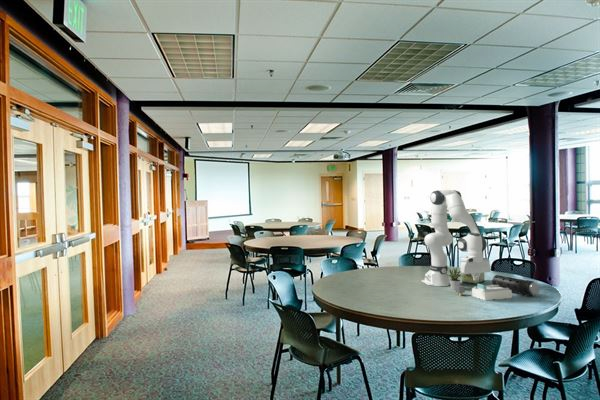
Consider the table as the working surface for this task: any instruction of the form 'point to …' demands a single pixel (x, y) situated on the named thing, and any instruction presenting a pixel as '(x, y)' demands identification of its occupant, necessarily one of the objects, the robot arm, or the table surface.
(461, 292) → the plug
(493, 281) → the muzzle brake
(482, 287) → the shutter
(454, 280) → the house plant
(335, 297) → the table surface
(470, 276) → the protein box
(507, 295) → the socket box
